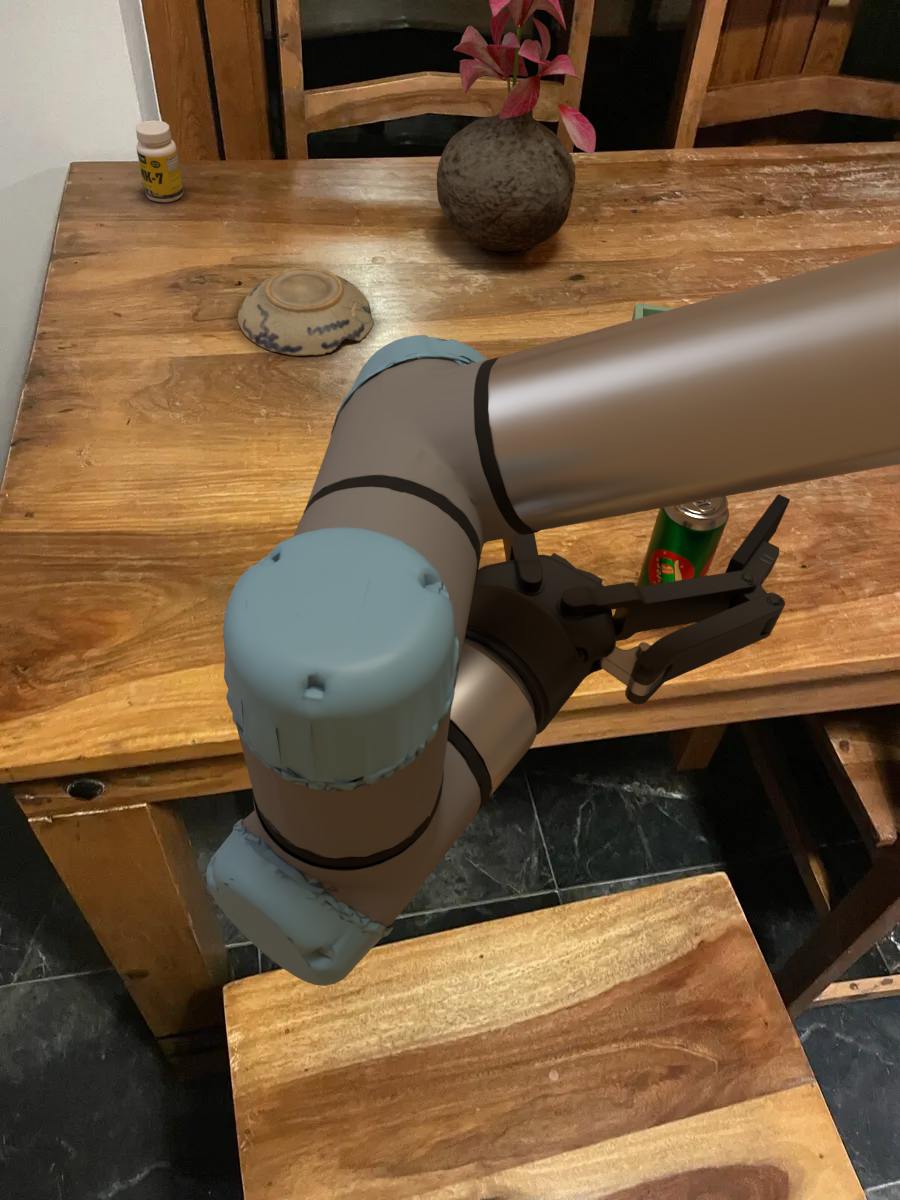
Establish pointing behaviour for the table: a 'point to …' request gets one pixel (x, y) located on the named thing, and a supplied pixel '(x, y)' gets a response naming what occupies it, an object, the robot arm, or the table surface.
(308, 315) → the decorative bowl
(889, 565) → the table surface
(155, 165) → the supplement bottle
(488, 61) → the vase
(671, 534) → the soda can
